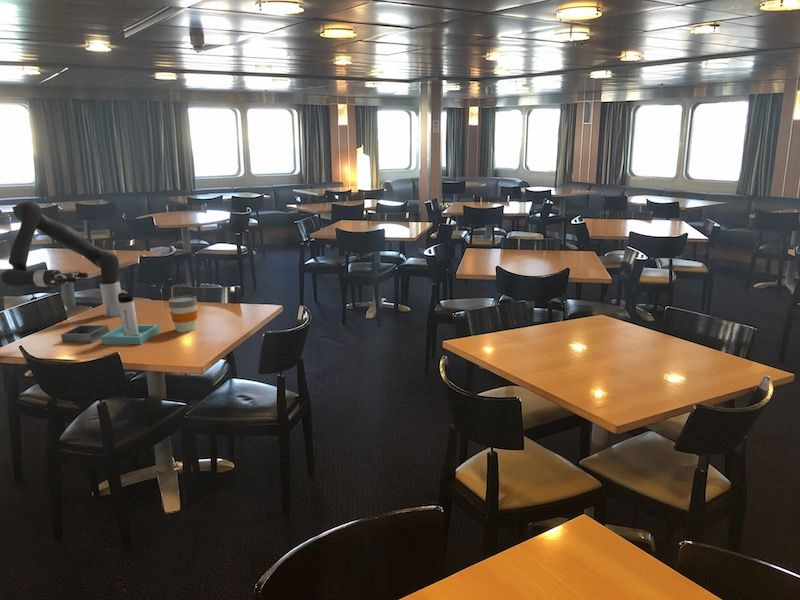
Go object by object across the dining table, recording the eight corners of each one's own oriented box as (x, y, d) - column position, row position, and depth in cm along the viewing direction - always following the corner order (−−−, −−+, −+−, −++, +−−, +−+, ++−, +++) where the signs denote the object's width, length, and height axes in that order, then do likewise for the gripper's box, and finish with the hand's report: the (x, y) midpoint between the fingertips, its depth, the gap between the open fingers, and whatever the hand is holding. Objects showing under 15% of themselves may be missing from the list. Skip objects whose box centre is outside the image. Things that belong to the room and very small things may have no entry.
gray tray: (81, 333, 291) (79, 325, 290) (109, 333, 289) (107, 325, 288) (62, 342, 277) (60, 334, 276) (91, 343, 276) (90, 334, 275)
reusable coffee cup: (191, 334, 284) (187, 302, 280) (166, 333, 287) (162, 302, 283) (205, 326, 296) (201, 295, 292) (181, 325, 299) (177, 295, 295)
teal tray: (123, 332, 291) (122, 324, 290) (160, 332, 289) (159, 324, 288) (101, 344, 273) (100, 337, 273) (140, 344, 272) (139, 337, 271)
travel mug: (132, 333, 285) (126, 291, 280) (141, 335, 282) (135, 292, 277) (120, 337, 280) (113, 294, 275) (129, 339, 277) (123, 296, 272)
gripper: (35, 273, 270) (70, 273, 268) (56, 266, 283) (89, 265, 282) (39, 290, 272) (73, 289, 270) (59, 282, 285) (92, 281, 284)
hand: (81, 277), depth 276 cm, fingers open, 8 cm apart
